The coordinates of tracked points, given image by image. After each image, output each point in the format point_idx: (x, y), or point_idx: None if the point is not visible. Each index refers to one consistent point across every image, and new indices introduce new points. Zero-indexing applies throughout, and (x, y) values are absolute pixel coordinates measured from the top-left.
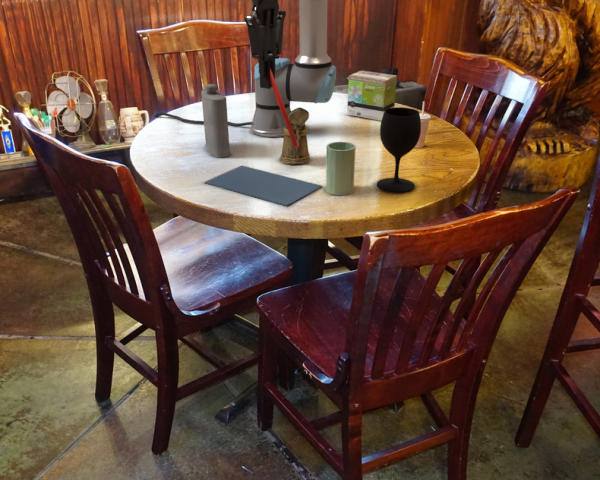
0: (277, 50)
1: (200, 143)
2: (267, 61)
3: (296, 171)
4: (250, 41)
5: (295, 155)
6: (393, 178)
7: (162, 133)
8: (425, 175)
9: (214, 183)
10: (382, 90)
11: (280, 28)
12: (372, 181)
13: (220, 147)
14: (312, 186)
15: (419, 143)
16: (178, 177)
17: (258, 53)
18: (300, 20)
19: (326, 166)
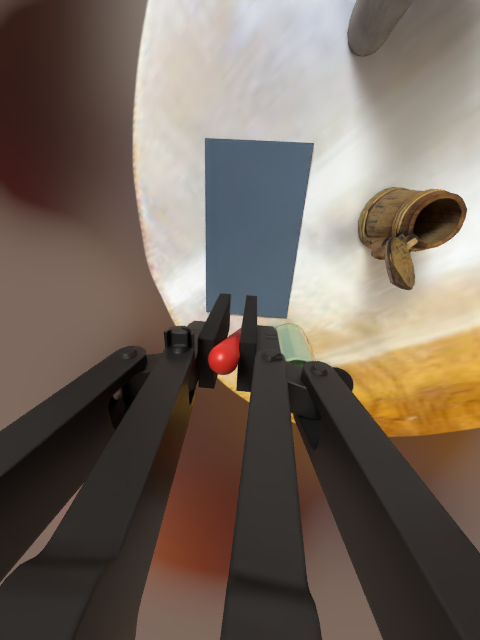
0: (297, 418)
1: None
2: (199, 382)
3: (331, 254)
4: (18, 427)
5: (369, 236)
6: (347, 380)
7: None
8: (379, 401)
9: (209, 162)
10: None
11: (387, 630)
12: (333, 360)
13: (358, 25)
14: (277, 309)
15: None
16: (199, 52)
17: (109, 408)
18: None
19: (280, 343)
